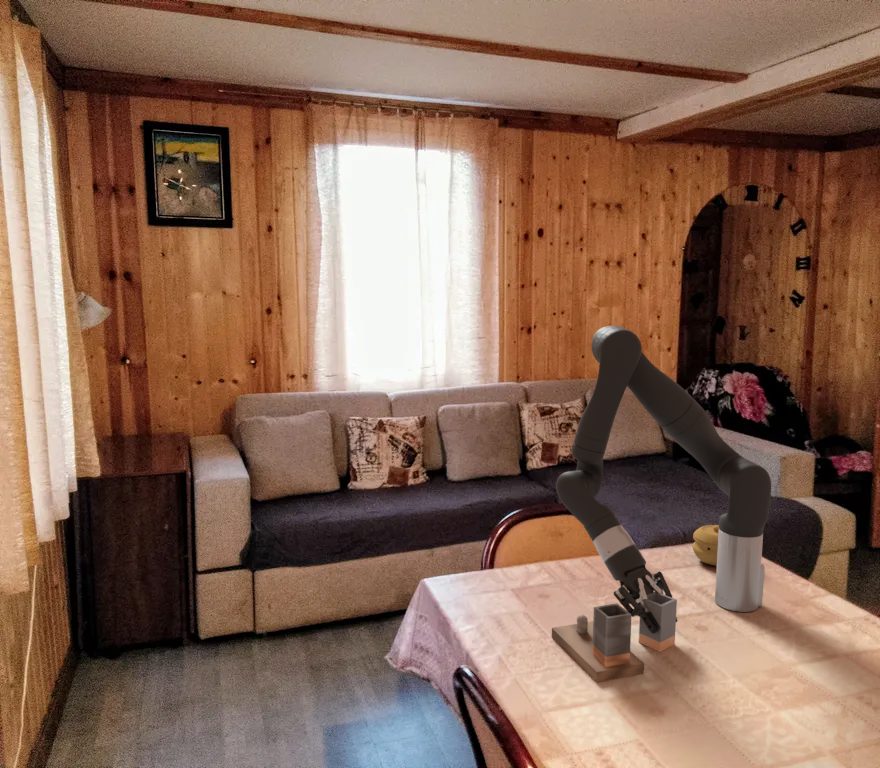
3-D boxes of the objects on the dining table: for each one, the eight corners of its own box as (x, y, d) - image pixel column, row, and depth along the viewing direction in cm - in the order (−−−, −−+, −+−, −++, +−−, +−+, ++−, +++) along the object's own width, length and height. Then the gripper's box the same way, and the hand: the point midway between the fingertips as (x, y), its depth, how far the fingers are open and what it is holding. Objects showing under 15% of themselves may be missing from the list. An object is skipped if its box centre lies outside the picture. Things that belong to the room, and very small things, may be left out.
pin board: (594, 629, 153) (596, 577, 152) (643, 673, 136) (646, 615, 135) (551, 637, 150) (552, 583, 149) (596, 682, 133) (598, 622, 132)
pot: (719, 551, 198) (721, 516, 196) (750, 567, 186) (752, 530, 185) (682, 557, 194) (684, 520, 192) (711, 573, 183) (713, 535, 181)
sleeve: (638, 642, 148) (640, 597, 147) (653, 634, 151) (655, 591, 150) (659, 652, 144) (661, 606, 143) (674, 644, 147) (676, 599, 146)
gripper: (607, 551, 146) (655, 630, 139) (650, 536, 155) (698, 609, 148) (586, 568, 151) (631, 646, 144) (629, 553, 160) (674, 624, 152)
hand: (665, 627), depth 146 cm, fingers closed on sleeve, 5 cm apart
